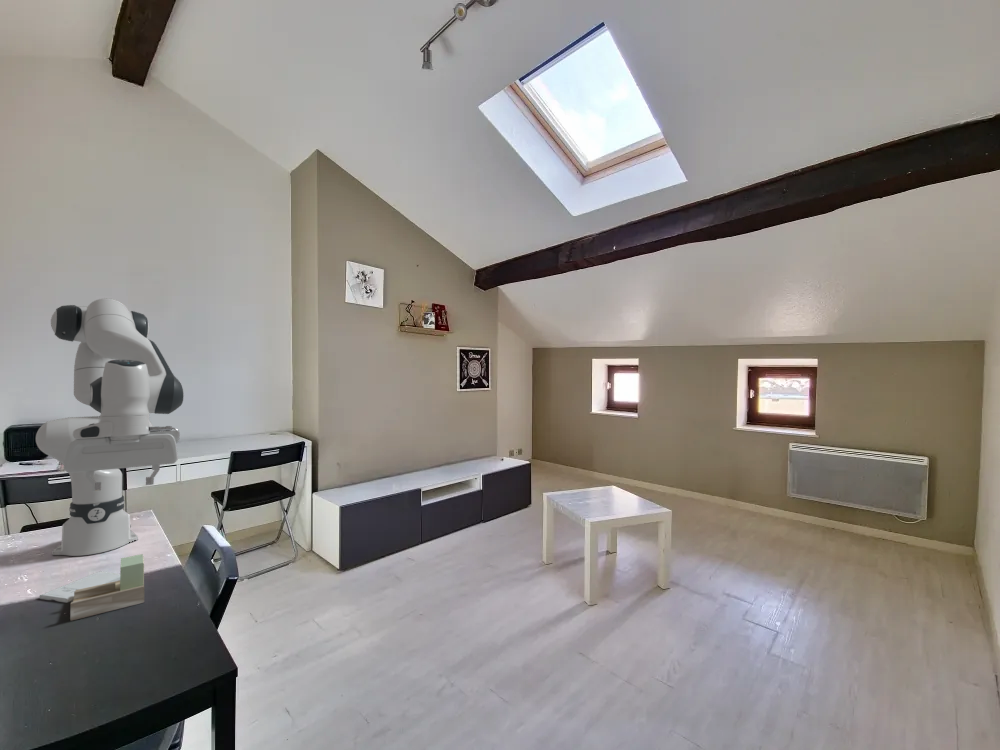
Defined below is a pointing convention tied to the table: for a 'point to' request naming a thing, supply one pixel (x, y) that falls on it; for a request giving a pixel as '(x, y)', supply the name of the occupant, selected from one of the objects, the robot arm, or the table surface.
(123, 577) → the tea box
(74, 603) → the shelf
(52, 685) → the table surface
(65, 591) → the external hard drive
